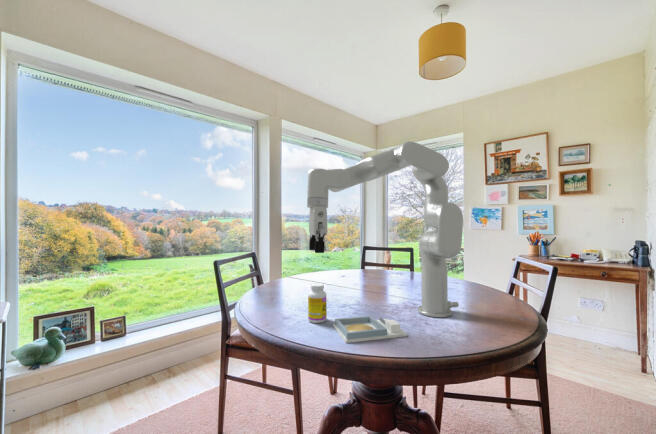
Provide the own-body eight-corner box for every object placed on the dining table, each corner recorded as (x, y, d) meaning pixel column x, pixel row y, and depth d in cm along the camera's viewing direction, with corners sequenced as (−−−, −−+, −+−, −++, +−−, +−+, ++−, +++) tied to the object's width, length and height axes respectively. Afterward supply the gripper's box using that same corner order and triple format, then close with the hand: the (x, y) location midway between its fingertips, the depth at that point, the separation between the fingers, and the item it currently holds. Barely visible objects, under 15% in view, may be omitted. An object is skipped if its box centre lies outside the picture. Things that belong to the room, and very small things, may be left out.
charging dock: (387, 321, 104) (387, 312, 104) (407, 336, 90) (407, 325, 91) (333, 326, 99) (333, 316, 99) (345, 343, 86) (345, 332, 86)
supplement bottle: (324, 324, 101) (324, 287, 101) (305, 323, 102) (305, 286, 102) (328, 318, 108) (328, 283, 108) (310, 316, 109) (310, 282, 109)
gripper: (334, 202, 97) (333, 254, 97) (322, 205, 114) (320, 249, 114) (312, 201, 95) (310, 254, 95) (303, 204, 112) (301, 249, 112)
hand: (316, 251), depth 104 cm, fingers open, 9 cm apart
